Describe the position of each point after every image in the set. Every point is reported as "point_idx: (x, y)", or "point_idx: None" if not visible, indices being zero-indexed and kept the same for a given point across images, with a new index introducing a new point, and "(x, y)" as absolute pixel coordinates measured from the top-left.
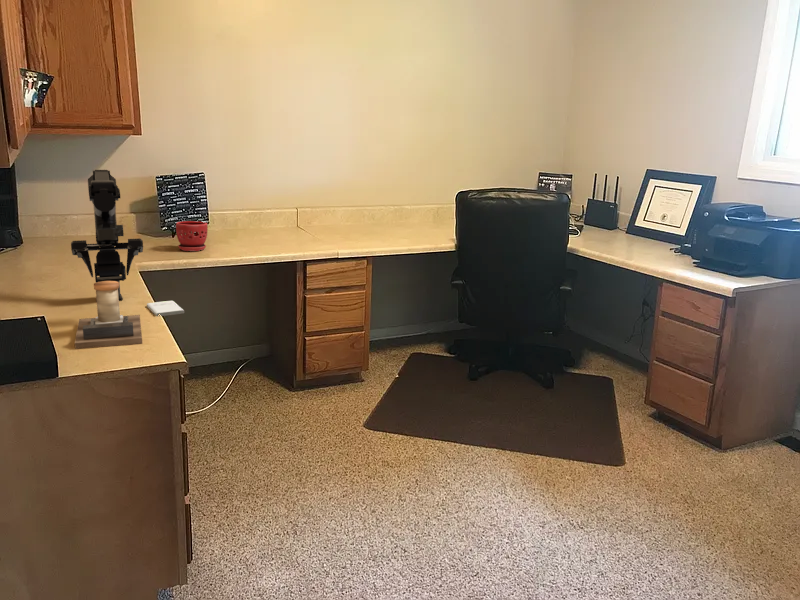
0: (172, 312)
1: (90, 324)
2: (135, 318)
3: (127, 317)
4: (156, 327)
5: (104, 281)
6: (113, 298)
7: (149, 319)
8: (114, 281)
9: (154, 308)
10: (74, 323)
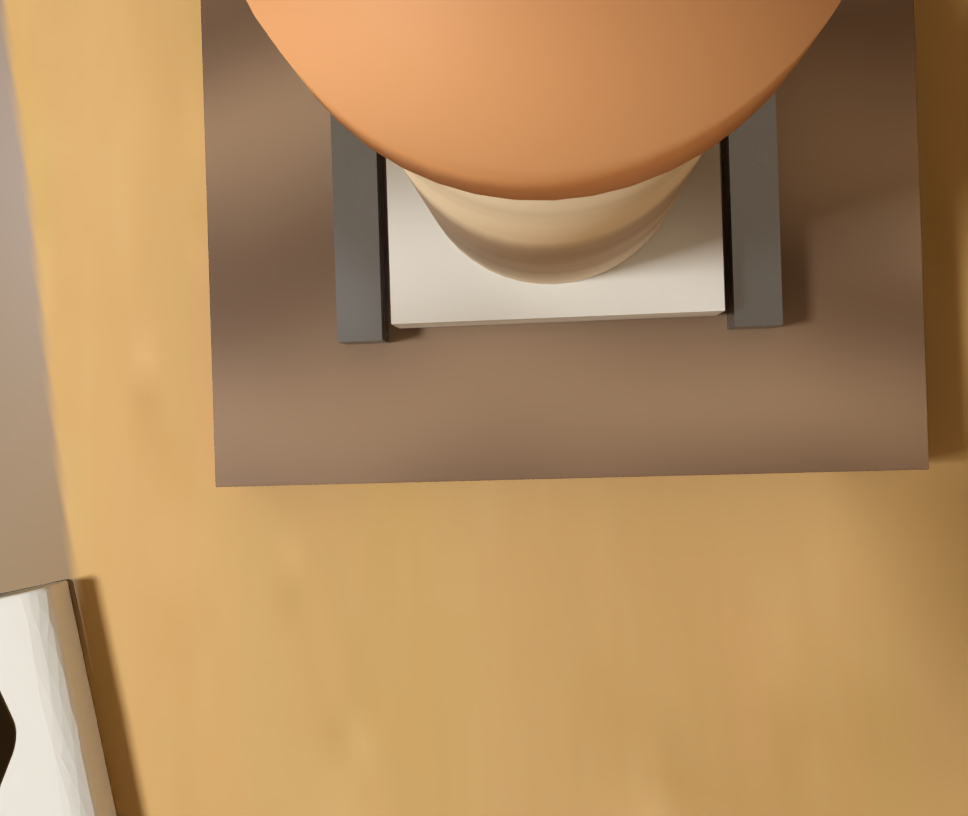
0: None
1: None
2: (261, 334)
3: (340, 275)
4: (72, 147)
5: (609, 94)
6: None
7: (140, 475)
8: (333, 48)
9: (60, 809)
10: (963, 505)
